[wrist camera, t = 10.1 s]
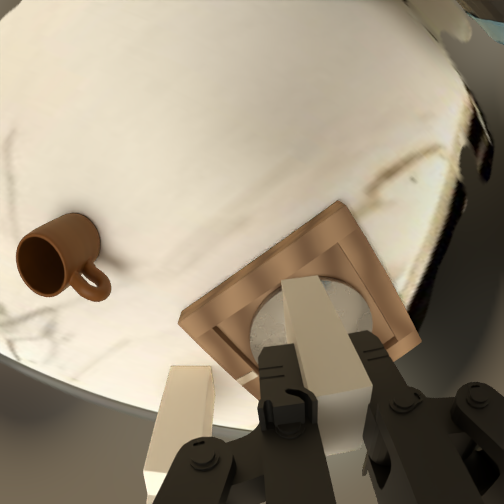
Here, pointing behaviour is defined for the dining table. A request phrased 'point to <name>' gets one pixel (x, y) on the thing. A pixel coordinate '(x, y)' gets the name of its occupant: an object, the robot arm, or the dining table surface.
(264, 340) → the dial
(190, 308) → the board
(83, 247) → the mug
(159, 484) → the milk
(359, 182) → the dining table surface
